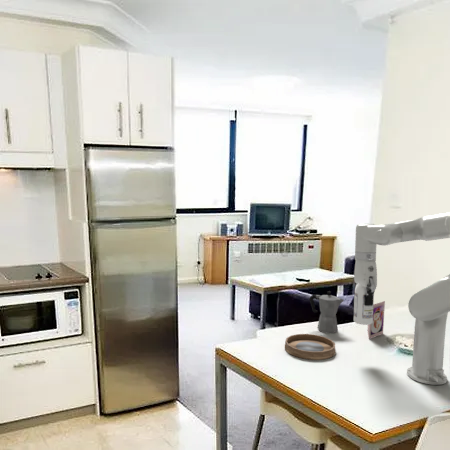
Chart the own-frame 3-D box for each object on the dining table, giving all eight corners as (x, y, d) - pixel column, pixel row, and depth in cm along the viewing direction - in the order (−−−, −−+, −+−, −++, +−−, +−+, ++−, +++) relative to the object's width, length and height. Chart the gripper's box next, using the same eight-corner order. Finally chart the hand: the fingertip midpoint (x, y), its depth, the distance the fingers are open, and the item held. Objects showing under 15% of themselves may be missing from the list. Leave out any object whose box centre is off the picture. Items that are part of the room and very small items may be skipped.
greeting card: (370, 339, 181) (372, 305, 180) (355, 334, 187) (357, 301, 185) (384, 334, 188) (386, 301, 187) (369, 329, 194) (371, 297, 193)
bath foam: (375, 322, 160) (377, 270, 159) (367, 326, 155) (369, 273, 154) (358, 318, 165) (360, 268, 163) (350, 322, 160) (352, 270, 158)
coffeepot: (343, 328, 195) (345, 290, 193) (340, 335, 186) (342, 295, 184) (310, 323, 201) (311, 286, 199) (306, 329, 192) (307, 291, 190)
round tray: (343, 359, 160) (344, 351, 160) (292, 360, 158) (292, 353, 157) (324, 339, 180) (325, 333, 180) (279, 341, 177) (279, 334, 177)
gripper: (386, 260, 150) (384, 308, 151) (364, 252, 167) (362, 296, 169) (366, 260, 149) (364, 309, 151) (346, 253, 166) (345, 297, 168)
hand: (363, 302), depth 160 cm, fingers closed on bath foam, 7 cm apart
